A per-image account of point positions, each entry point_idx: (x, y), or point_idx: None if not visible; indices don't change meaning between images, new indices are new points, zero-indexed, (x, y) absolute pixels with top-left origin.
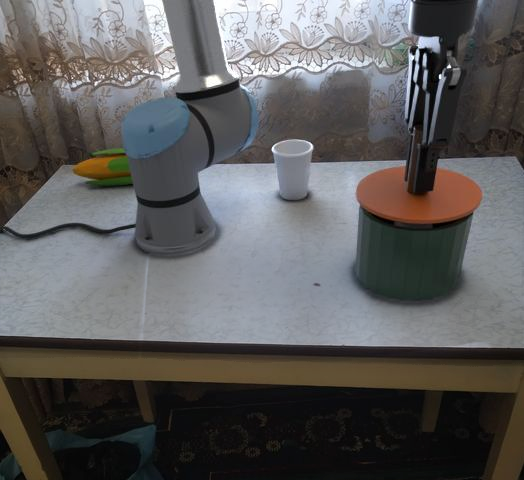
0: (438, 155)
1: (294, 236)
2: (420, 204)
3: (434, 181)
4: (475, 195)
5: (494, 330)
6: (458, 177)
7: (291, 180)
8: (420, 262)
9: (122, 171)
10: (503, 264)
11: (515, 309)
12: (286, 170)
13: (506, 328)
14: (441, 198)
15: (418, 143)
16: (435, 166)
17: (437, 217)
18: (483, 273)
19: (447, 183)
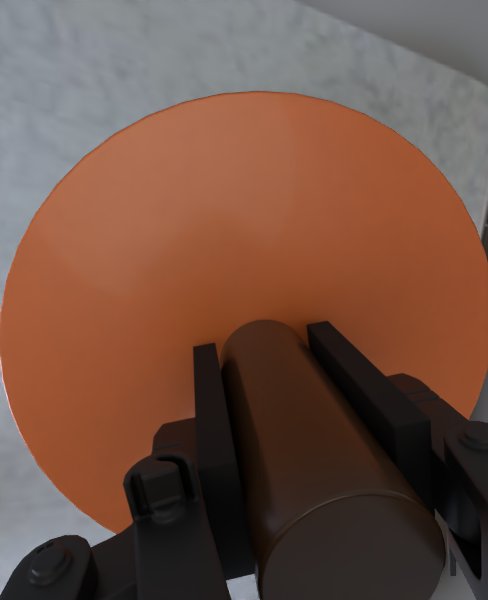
0: (397, 389)
1: (48, 519)
2: (379, 365)
3: (340, 334)
4: (341, 136)
5: (451, 128)
6: (147, 164)
7: None
8: None
9: None
10: (195, 8)
11: (389, 52)
12: None
13: (449, 99)
14: (345, 282)
15: (454, 569)
16: (422, 386)
17: (483, 323)
18: (236, 82)
19: (207, 229)
